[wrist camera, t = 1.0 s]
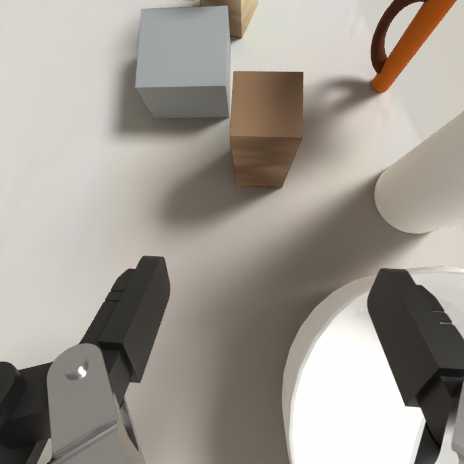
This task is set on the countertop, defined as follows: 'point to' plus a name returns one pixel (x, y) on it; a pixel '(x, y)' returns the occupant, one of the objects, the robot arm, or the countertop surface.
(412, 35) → the knife
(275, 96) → the walnut block
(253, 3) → the oak block
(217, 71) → the base block
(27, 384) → the robot arm
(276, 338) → the countertop surface
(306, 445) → the bowl
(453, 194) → the cylindrical container
